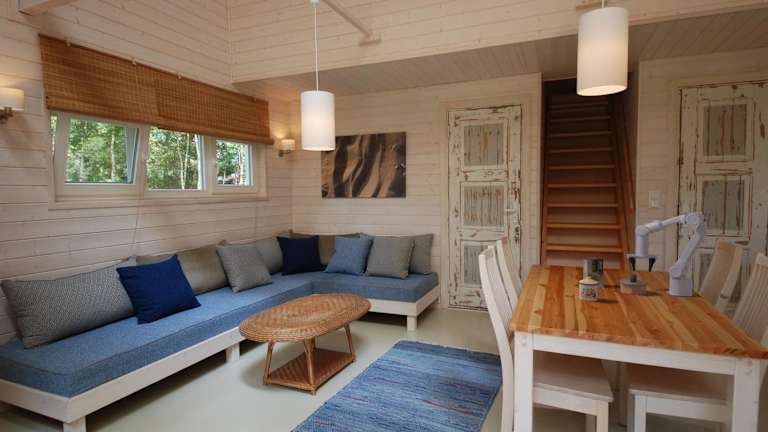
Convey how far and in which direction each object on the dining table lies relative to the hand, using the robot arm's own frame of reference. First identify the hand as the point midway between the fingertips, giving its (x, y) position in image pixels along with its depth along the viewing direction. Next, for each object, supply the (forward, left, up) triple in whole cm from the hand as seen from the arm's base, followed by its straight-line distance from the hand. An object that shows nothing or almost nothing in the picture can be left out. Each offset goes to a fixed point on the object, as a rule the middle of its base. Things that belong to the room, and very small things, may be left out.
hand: (641, 271), depth 241 cm
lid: (+7, +9, -5) cm, 13 cm away
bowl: (+7, +9, -10) cm, 15 cm away
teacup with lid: (+32, +29, -10) cm, 44 cm away
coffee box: (+24, -4, -10) cm, 26 cm away
